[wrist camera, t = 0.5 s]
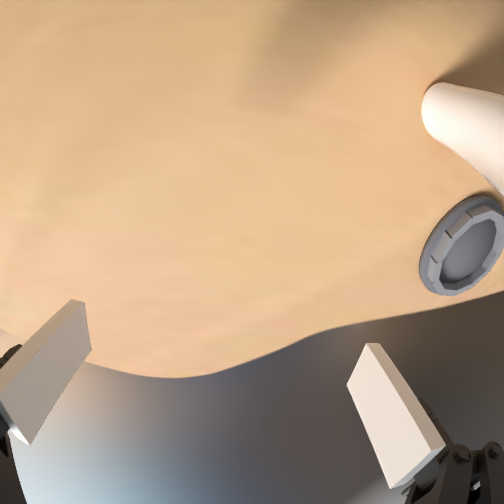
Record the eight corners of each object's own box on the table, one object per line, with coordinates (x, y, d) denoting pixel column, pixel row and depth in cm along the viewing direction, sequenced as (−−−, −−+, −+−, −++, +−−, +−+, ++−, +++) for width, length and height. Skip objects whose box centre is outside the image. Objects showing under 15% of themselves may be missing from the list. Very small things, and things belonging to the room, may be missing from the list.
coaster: (458, 178, 19) (470, 188, 18) (514, 212, 21) (523, 220, 20) (398, 285, 28) (405, 298, 26) (464, 291, 30) (470, 301, 28)
